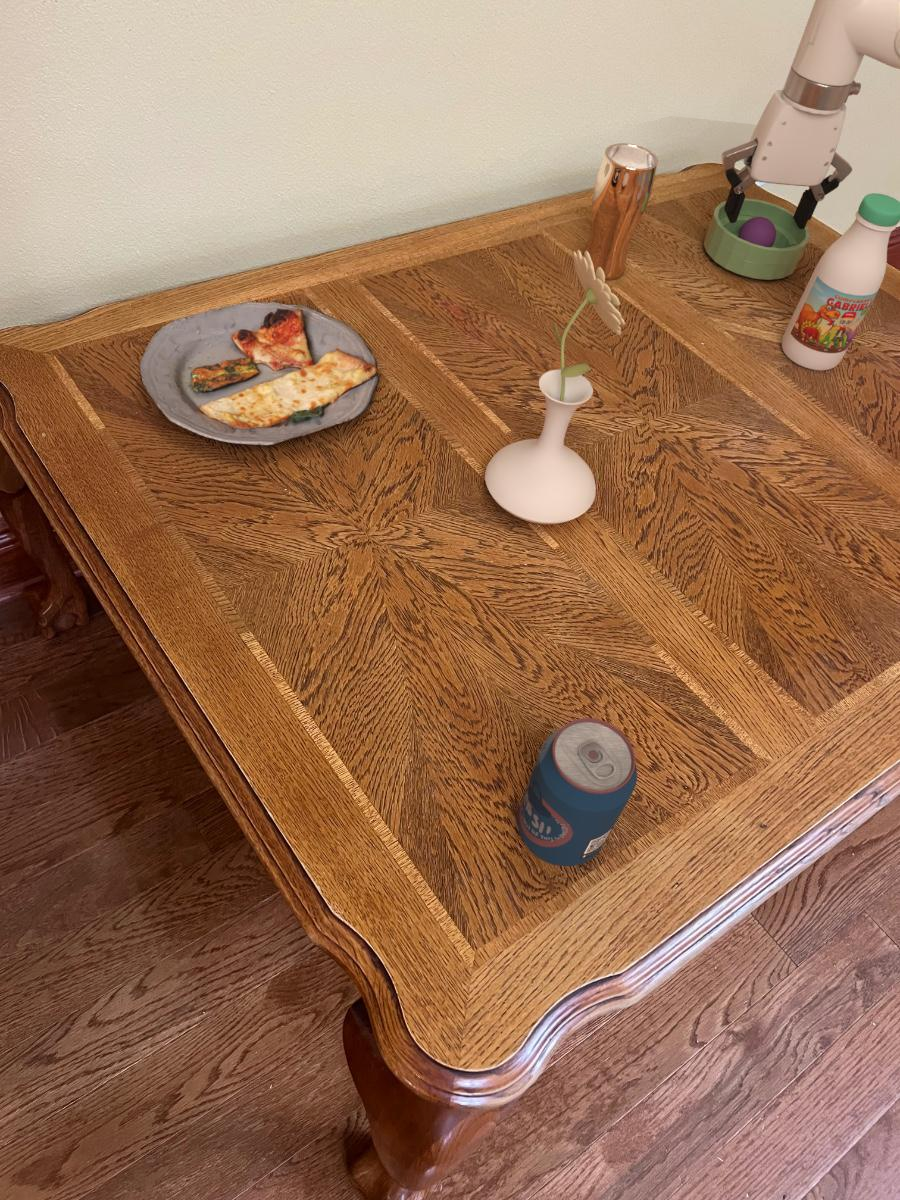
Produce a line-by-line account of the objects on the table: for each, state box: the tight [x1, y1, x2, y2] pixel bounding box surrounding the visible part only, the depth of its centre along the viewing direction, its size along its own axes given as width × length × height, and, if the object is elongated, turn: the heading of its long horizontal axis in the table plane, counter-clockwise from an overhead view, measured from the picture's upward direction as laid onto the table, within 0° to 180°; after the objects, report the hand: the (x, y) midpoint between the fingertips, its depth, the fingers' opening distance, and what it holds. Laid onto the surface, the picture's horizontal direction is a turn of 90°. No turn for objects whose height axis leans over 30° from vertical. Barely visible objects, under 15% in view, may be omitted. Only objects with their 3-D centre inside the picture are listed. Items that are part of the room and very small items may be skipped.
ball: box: [738, 217, 776, 247], centre depth 129 cm, size 5×5×5 cm
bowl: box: [703, 197, 811, 281], centre depth 130 cm, size 13×13×5 cm
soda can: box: [516, 717, 638, 867], centre depth 68 cm, size 7×7×12 cm
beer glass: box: [582, 142, 659, 281], centre depth 120 cm, size 7×7×15 cm
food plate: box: [139, 301, 381, 446], centre depth 101 cm, size 25×23×4 cm
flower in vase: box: [484, 249, 626, 525], centre depth 87 cm, size 13×11×25 cm
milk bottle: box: [781, 192, 900, 371], centre depth 111 cm, size 8×8×20 cm
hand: (764, 220), depth 128 cm, fingers open, 9 cm apart
